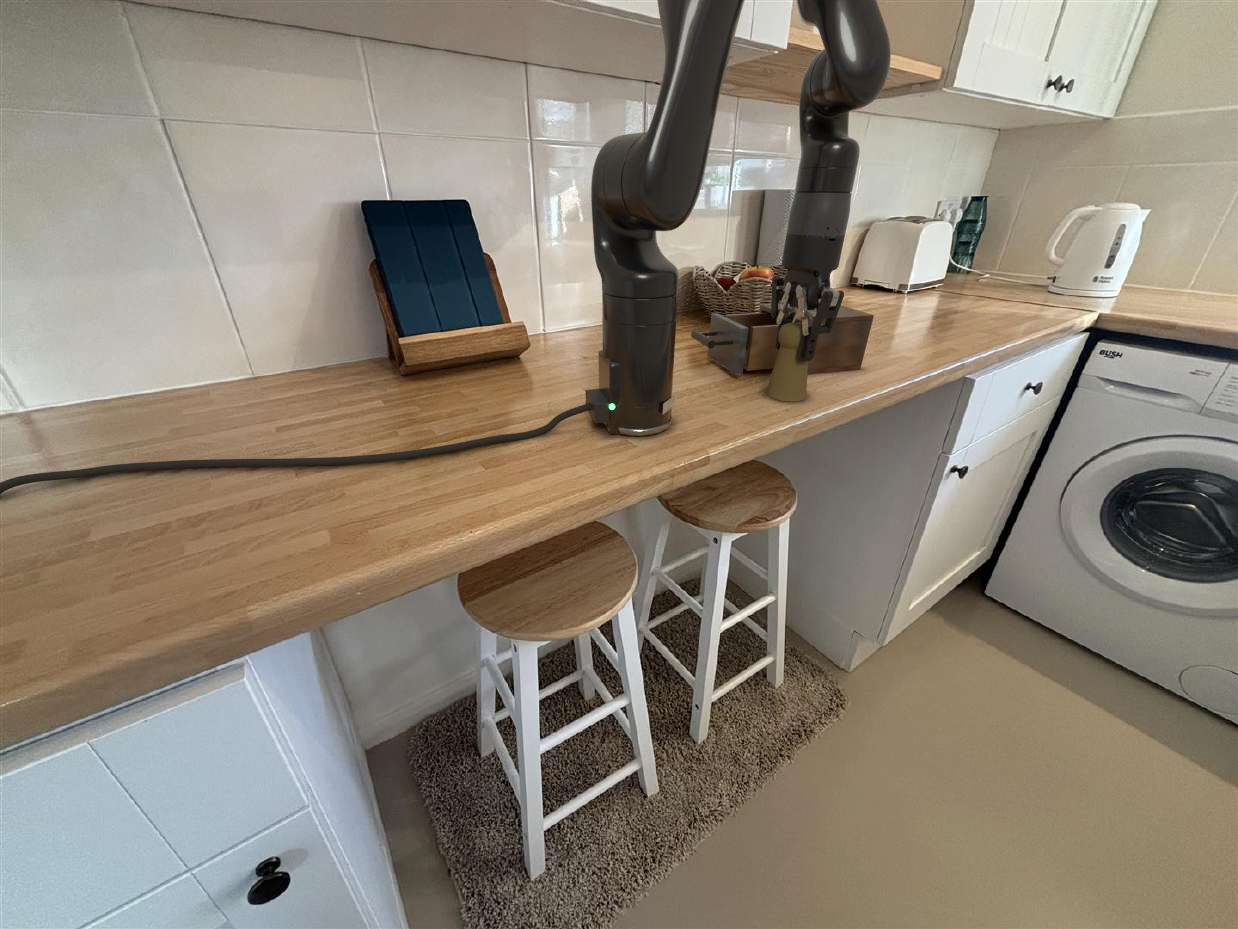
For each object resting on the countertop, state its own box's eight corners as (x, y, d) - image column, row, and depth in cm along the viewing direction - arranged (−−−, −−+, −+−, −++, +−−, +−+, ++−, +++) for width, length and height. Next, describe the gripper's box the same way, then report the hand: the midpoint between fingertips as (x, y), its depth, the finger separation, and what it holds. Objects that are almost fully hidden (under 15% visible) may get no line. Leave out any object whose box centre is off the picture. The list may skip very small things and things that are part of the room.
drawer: (710, 377, 82) (715, 330, 78) (684, 357, 91) (687, 314, 88) (805, 368, 86) (814, 323, 82) (770, 350, 96) (777, 309, 92)
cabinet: (789, 376, 85) (800, 319, 81) (753, 355, 96) (760, 304, 91) (860, 369, 89) (874, 315, 84) (817, 350, 99) (827, 301, 95)
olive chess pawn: (801, 388, 80) (814, 319, 74) (810, 402, 75) (825, 329, 69) (763, 387, 80) (774, 318, 75) (769, 400, 75) (781, 327, 70)
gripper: (763, 227, 71) (747, 344, 79) (825, 235, 59) (799, 371, 67) (808, 227, 73) (788, 341, 81) (877, 234, 61) (845, 367, 69)
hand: (793, 354), depth 74 cm, fingers closed on olive chess pawn, 5 cm apart
